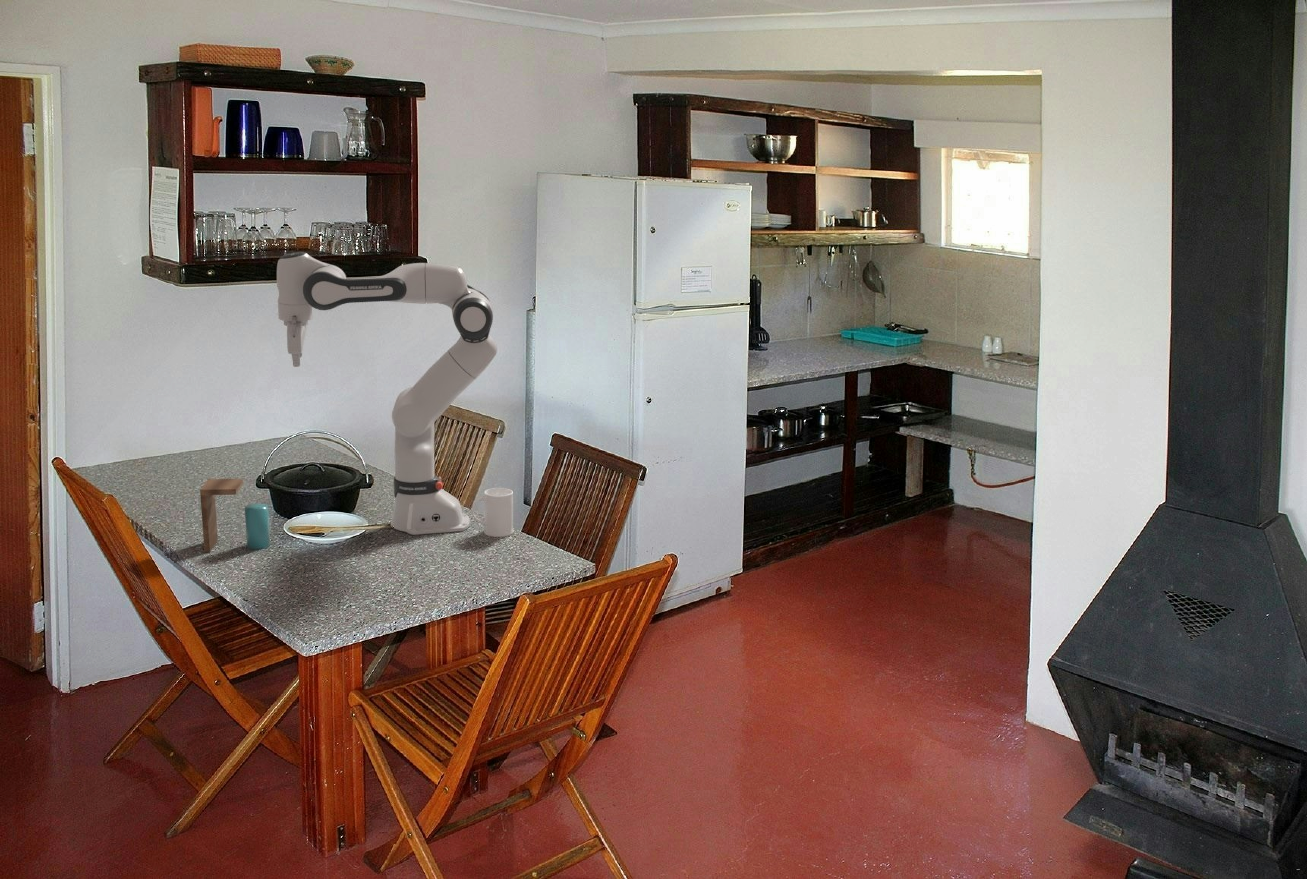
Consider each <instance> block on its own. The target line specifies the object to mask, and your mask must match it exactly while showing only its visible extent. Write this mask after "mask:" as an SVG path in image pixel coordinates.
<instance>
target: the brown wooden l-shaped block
mask: <svg viewBox="0 0 1307 879" xmlns="http://www.w3.org/2000/svg"><path fill="white" fill-rule="evenodd" d="M243 485H244V478H207V480H206V481H205V483H204V484H203V485H202V486H201V488H200V489H199V495H200V506H201V507H200V509H201V522H202V524H201V525H202V535H203V536H202V537H203V549H204V550H203V552H204V553H211V552H212V550H213V548H214V547H215V546H216V543H218V541H219V540H218V539H219V536H218V522H217V508H216V506H217V505H216V496H229V495H230V496H231V495H233V496H236V495H237V494H238V492H239V491H240V489H241V488H242V486H243Z"/></svg>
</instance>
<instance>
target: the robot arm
mask: <svg viewBox="0 0 1307 879" xmlns="http://www.w3.org/2000/svg"><path fill="white" fill-rule="evenodd" d="M276 287H277V290H278V298H277V308H278V313H277V314H278V319H279V321H283V325H284V326H286V341H287V343H286V344H287V345H286V346H287V353H288V354H290V355H291V359H292V360H291V361H292V367H294V368H298V367H300V366H301V358H302V356H303V347H304V344H305V340H306V339H305V337H306V333H307V325H308V324H309V321H311V320H313V317H314V316H313V309H315V310H319V311H329V310H330V311H331V310H332V309H335V308H337V307H339V306H342V305H345V304H353V303H373V302H374V303H375V302H390V303H391V302H393V303H403V304H404V303H407V304H423V305H424V304H439V305H444V306H446V307H448V308H450V309H451V314H452V320H453V323H454V325H455V327H456V329H457V331H458V333H459V335H460V336H459V338H458V339H457V341H456V342H455V343H454V344H453V345H452V346H451V347H450V348H449V349H448V350H447V351H446V352H445V353H443V354H442V355H441V356H440V357H439V359H438V360H436V361H435V362H434V363H433V364H432V365H431V366H430V367H429V368H428V369H427V370H426V372H425V373H424V374H423V375H422V376H421V377H420V379H418V381H417V382H416V383H415V384H414V385H413V386H412V387H408V388H406V389H404V390H403V391H401V392H400V393H399V394H398V396H397V398H396V400H395V402H394V406H393V408H392V409H393V410H392V411H391V412H392V413H391V421H392V424H393V427H394V475H395V476H394V477H393V482H392V483H393V484H392V486H393V488H392V489H393V495H394V503H393V505H394V506H393V513H392V518H391V520H390V521H391V522H390V527H392V526H394V528H393V529H394V530H397V531H401V532H405V533H406V534H409V535H414V536H415V535H426V534H427V535H428V534H441V533H452V532H463V531H466V530H467V529H468V528H469V527H470V525H471V521H470V519H471V518H470V516H469V515H468V514H467V513H464V512H463V509H462V505H461V502H460V501H459V499H458V498H456V497H455V496H454V495H452V494H450V493H449V492H447V491H446V490H444V489H443V486H444V484H443V480H442V477H441V475H439V477H438V476H437V475H436V474H435V422H436V421H438V419H439V418H440V417H441V415H443V413H444V412H445V411H446V410H447V409H448V408H449V406H451V404H453V403H454V401H456V399H457V398H458V397H459V396H460V395H461V394H462V393H463V392H464V391H465V390H466V389H468V387H469V386H470V385H471V384H472V383H474V381H475V380H476V379H477V378H478V377H479V376H481V374H482V373H483V372H484V371H485V370H486V369H487V368H488V366H489V365H490V363H491V362H492V361H493V360H494V358H495V357H496V355H497V351H498V347H497V344H496V341H495V340H494V338H493V337H492V336H491V335H490V332H491V328H492V325H493V320H494V319H493V318H494V310H493V309H494V308H493V306H492V303H491V301H490V299H489V298H488V297H487V295H485V294H484V293H483V292H482V291H480V290H478V289H476V288H474V287H473V286H471V285H469V284H468V280H467V276H466V274H465V272H464V270H463V269H462V268H461V267H460V266H459V267H458V266H455V265H450V264H447V263H446V264H445V263H436V262H435V263H434V262H416V263H415V262H413V263H407V264H403V265H402V264H401V265H399V266H398V267H396V268H395V269H393V270H392V271H390V272H389V273H386V274H383V275H380V276H377V277H362V278H361V277H357V278H355V277H353V278H347V275H346V273H345V272H344V270H343V269H342V268H340V267H339V266H337V265H334V264H330V263H327V262H323V261H321V260H318V259H316V258H314V257H312V256H311V255H309V254H308V253H307V252H305V251H293V252H292V251H291V252H289V253H285V254H283V255H282V256H281V257H280V258H279V259H278V261H277V265H276Z"/></svg>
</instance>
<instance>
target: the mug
mask: <svg viewBox="0 0 1307 879" xmlns="http://www.w3.org/2000/svg"><path fill="white" fill-rule="evenodd" d="M483 493H484V494H483V496H481V497H479V498H477V499H476V500H474V503H473V504H472V508H471V514H472V515H471V516H472V517H473V519H474V520H475V521H476V522H477V523H479V524H482V525H484V526H483V534H484V535H486V536H489V537H493V538H494V537H495V538H504V537H509V536H511V535H513V534H514V533H515V531H514V492H513V490H512V489H510V488H505V487H493V488H488V489H485V490H484V492H483ZM482 501H484V505H483V506H484V507H483V508H484V512H483V513H484V514H483V516H484V518H483V519H479V518H478V517H476V515H475V512H474V510H475V506H477V504H478V503H480V502H482Z"/></svg>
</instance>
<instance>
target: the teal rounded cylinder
mask: <svg viewBox="0 0 1307 879" xmlns="http://www.w3.org/2000/svg"><path fill="white" fill-rule="evenodd" d="M269 515H270V513H269V506H268V504H266V503H258V502H257V503H251V504H247V505H245V506H244V517H245V518H244V520H245V536H246V538H245V540H246V548H248V549H250V550H262V549H263V550H264V549H267V548H269V547H270V546H271V535H270V533H271V532H270V519H269Z"/></svg>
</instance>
